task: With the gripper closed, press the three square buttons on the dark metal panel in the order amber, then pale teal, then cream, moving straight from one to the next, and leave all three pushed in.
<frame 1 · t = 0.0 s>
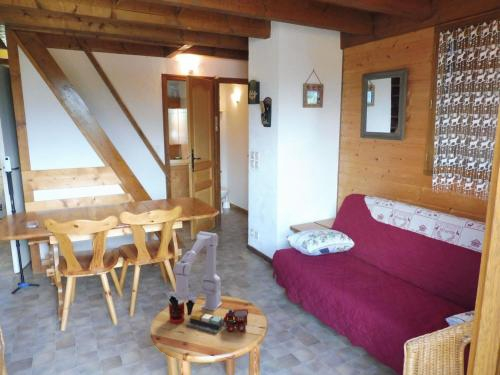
hand: (182, 312, 184), 10 cm above the table, fingers open, 7 cm apart
button panel: (207, 324, 193), on the table
canned food: (177, 320, 196), on the table
amber button: (197, 315, 194), point 3 cm above the table, slide at 0.0 cm
cream button: (207, 318, 192), point 3 cm above the table, slide at 0.0 cm
toy fire truck: (235, 329, 189), on the table
teal button: (216, 320, 190), point 3 cm above the table, slide at 0.0 cm
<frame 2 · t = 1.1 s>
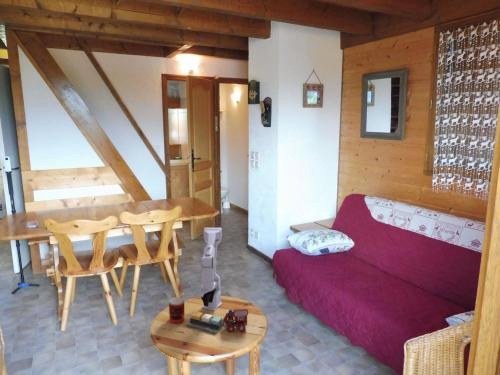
hand: (208, 304, 194), 9 cm above the table, fingers open, 4 cm apart
nothing on the table moved.
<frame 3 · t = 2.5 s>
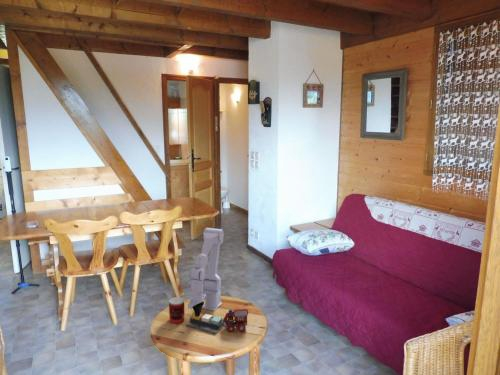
hand: (197, 315, 194), 3 cm above the table, fingers closed, pressing on amber button
amber button: (197, 317, 194), point 2 cm above the table, slide at 0.8 cm, touching gripper
everything else where it was.
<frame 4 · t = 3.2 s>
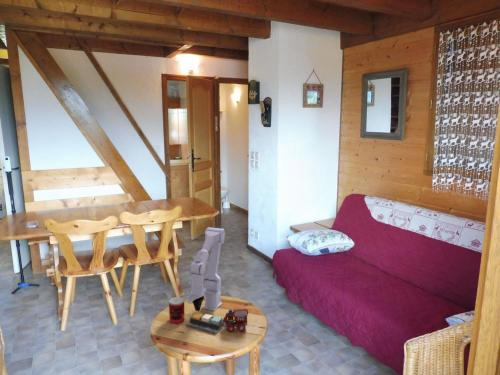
hand: (197, 310, 194), 6 cm above the table, fingers closed
amber button: (197, 317, 194), point 2 cm above the table, slide at 0.8 cm
everything else where it was.
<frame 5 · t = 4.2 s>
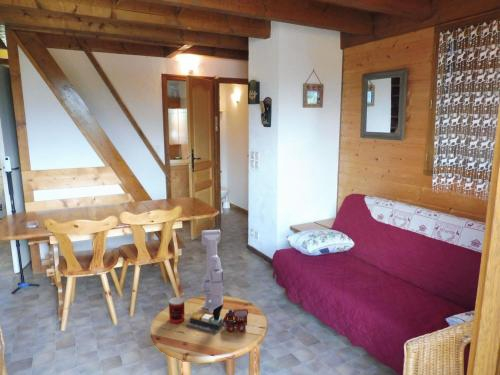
hand: (216, 319, 190), 4 cm above the table, fingers closed, pressing on teal button
teal button: (216, 320, 190), point 3 cm above the table, slide at 0.1 cm, touching gripper
everything else where it was.
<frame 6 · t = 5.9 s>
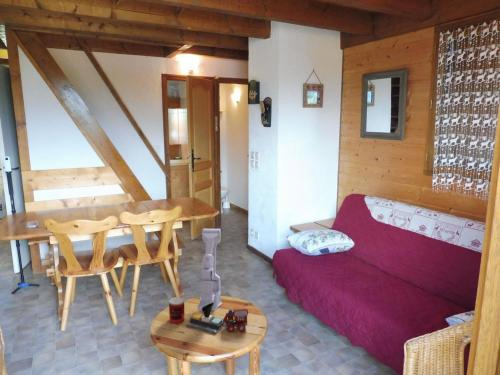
hand: (206, 316, 192), 4 cm above the table, fingers closed, pressing on cream button
cream button: (207, 318, 192), point 3 cm above the table, slide at 0.1 cm, touching gripper
teal button: (216, 322, 190), point 2 cm above the table, slide at 0.8 cm
everything else where it was.
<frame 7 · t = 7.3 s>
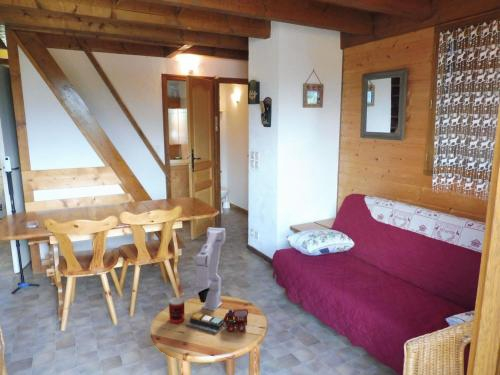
hand: (203, 302, 195), 10 cm above the table, fingers closed
cream button: (207, 319, 192), point 2 cm above the table, slide at 0.8 cm
everything else where it was.
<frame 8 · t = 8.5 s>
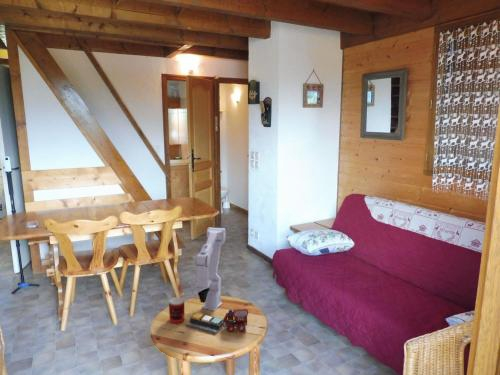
hand: (203, 302, 195), 10 cm above the table, fingers closed
nothing on the table moved.
at the end: amber button slide at 0.8 cm; teal button slide at 0.8 cm; cream button slide at 0.8 cm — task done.
